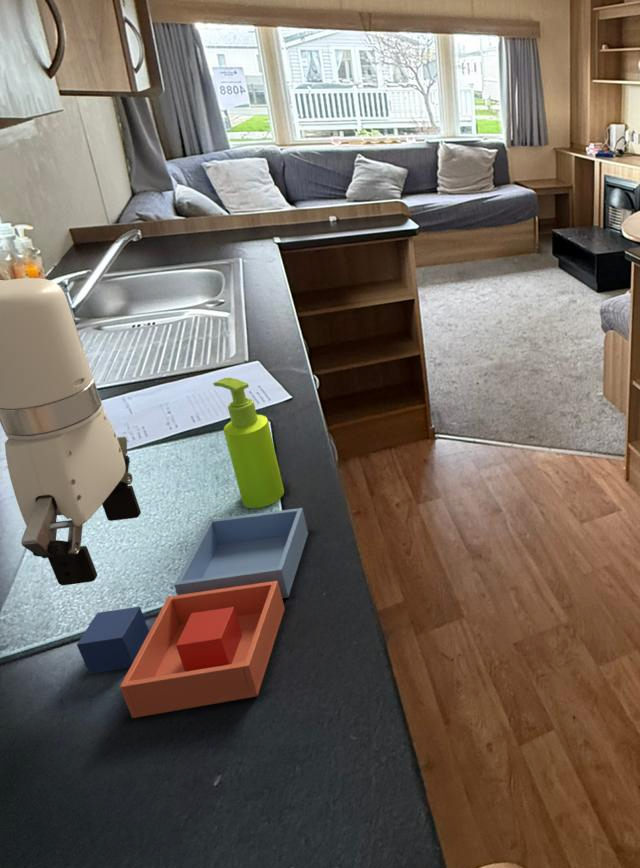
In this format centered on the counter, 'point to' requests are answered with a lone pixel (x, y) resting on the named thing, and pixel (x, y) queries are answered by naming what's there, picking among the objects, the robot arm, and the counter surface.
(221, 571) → the blue bin
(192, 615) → the red block
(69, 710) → the counter surface
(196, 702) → the red bin
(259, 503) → the soap dispenser
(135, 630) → the blue block
